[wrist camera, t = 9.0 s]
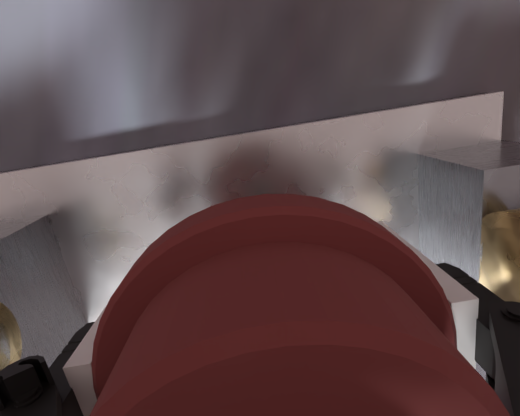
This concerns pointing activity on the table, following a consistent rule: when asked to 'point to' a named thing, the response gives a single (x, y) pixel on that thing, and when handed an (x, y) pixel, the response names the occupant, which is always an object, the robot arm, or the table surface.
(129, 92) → the table surface
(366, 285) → the mechanical component
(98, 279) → the shaft bed
